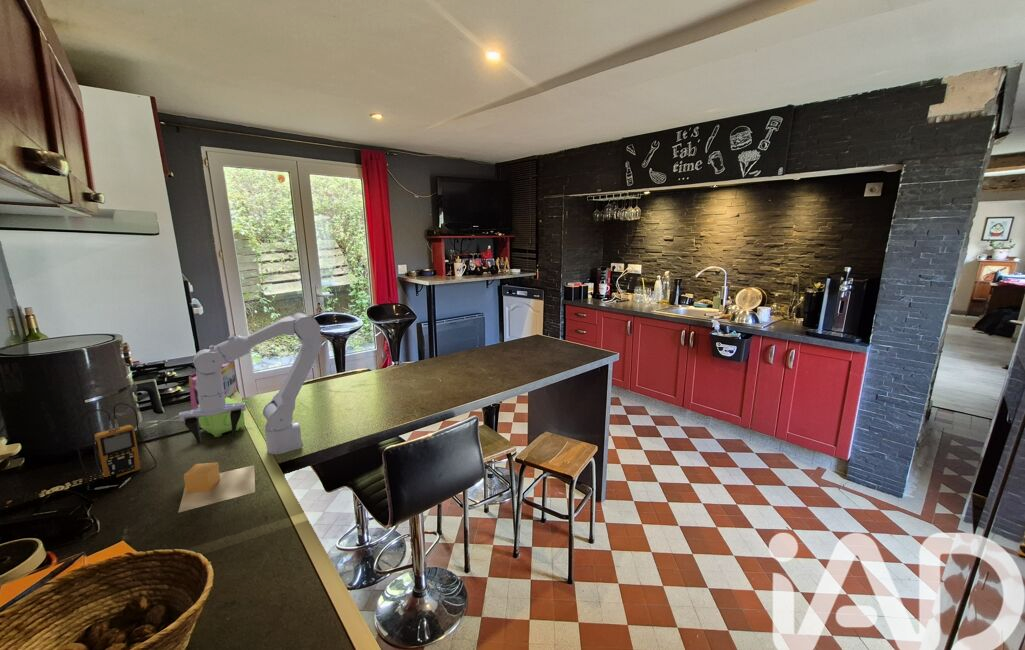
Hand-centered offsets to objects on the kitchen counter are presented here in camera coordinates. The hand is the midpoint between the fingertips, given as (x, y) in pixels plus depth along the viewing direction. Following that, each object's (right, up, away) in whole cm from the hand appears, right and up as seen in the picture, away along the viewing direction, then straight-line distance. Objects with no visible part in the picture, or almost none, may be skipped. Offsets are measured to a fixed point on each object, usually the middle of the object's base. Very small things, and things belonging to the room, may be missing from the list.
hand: (217, 439), depth 110 cm
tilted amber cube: (+3, -10, -8) cm, 13 cm away
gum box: (-40, +1, +53) cm, 66 cm away
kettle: (-17, -5, +25) cm, 31 cm away
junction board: (+7, -11, -8) cm, 16 cm away
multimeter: (-22, -10, -3) cm, 24 cm away
